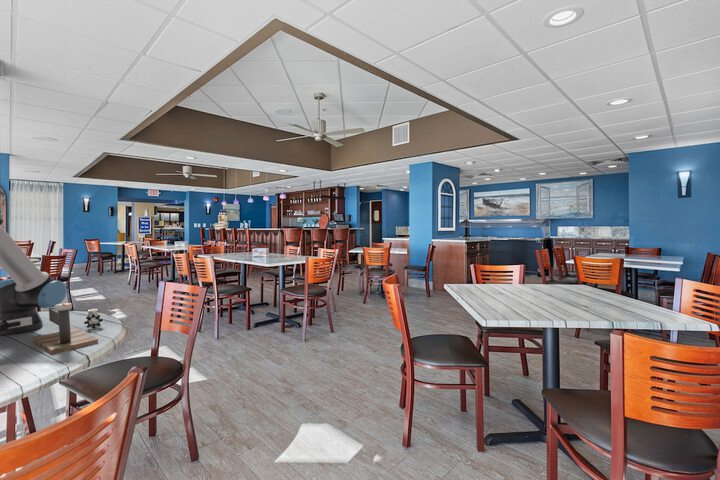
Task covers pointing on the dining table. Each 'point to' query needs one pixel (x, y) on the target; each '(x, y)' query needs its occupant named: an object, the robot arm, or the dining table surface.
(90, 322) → the valve
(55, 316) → the dark piece
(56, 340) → the board
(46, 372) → the dining table surface
